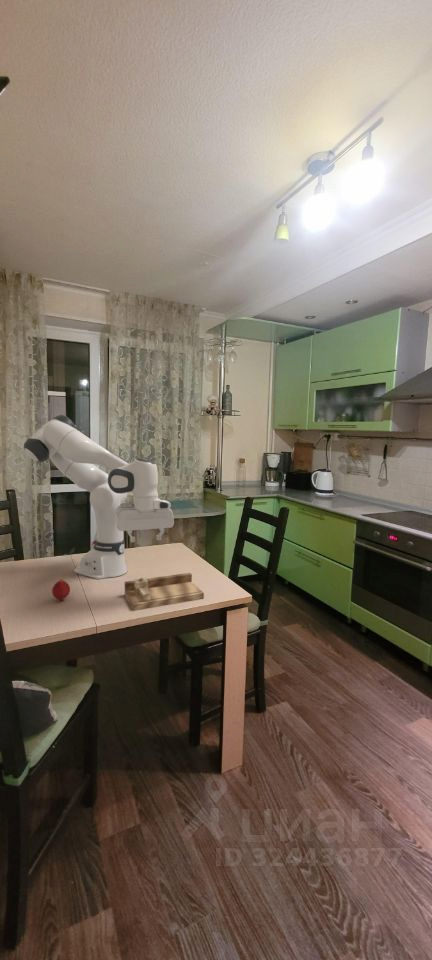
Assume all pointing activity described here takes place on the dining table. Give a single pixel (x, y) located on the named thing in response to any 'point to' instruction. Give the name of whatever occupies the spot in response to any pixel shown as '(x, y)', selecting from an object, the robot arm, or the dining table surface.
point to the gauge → (142, 589)
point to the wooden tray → (164, 591)
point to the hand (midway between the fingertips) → (145, 541)
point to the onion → (60, 589)
